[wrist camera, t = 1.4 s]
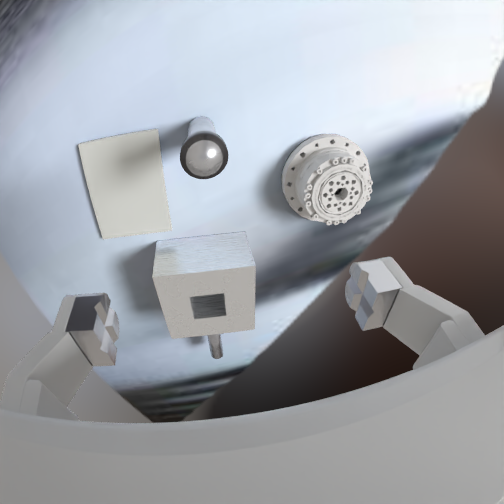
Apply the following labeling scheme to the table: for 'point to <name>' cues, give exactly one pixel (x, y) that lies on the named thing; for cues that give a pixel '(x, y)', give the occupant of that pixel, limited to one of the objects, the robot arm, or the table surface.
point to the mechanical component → (327, 179)
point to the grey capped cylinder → (203, 150)
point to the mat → (127, 183)
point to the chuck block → (206, 286)
